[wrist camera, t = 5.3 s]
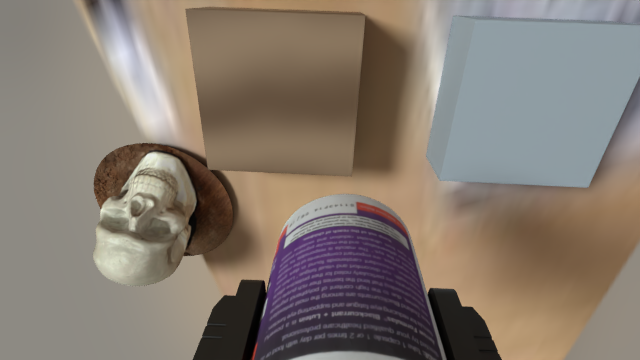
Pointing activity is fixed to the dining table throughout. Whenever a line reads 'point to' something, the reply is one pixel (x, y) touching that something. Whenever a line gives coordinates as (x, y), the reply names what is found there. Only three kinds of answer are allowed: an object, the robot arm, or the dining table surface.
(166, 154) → the skull
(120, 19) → the dining table surface
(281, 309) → the pill bottle
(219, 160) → the walnut block
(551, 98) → the slate block
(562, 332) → the dining table surface
